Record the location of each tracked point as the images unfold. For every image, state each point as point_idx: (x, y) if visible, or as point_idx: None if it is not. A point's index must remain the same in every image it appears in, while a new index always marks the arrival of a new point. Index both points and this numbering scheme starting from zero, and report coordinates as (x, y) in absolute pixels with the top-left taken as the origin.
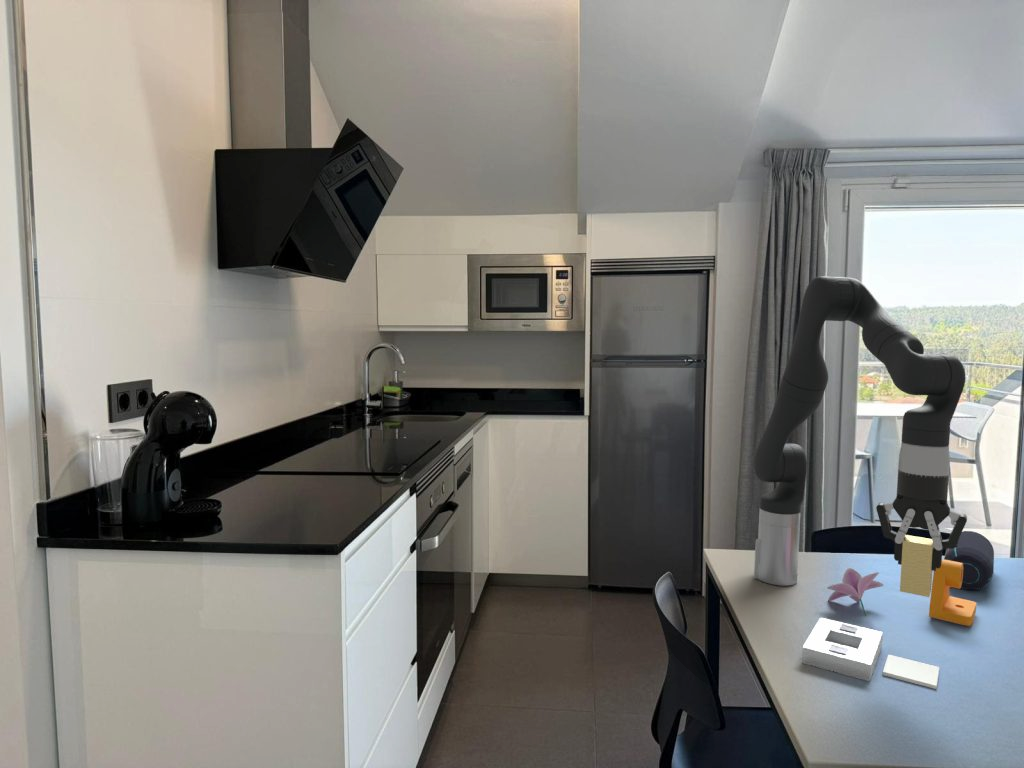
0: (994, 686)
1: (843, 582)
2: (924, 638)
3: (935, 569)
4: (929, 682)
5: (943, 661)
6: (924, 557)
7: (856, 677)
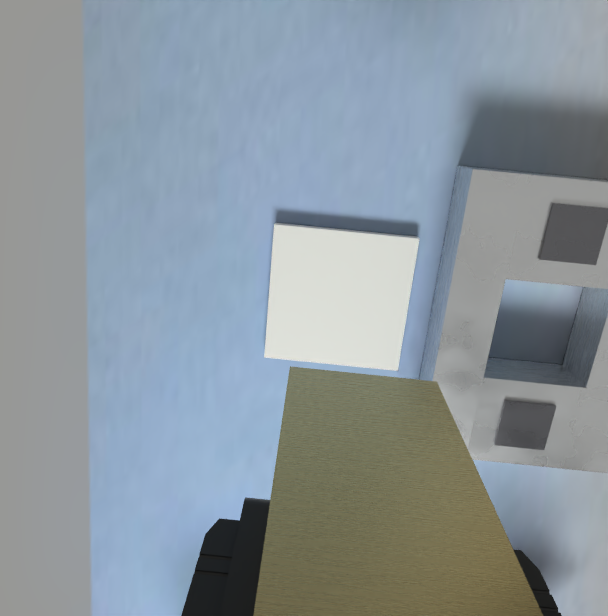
0: (134, 328)
1: None
2: None
3: (246, 501)
4: (292, 236)
5: (253, 417)
6: (326, 533)
7: (497, 169)
